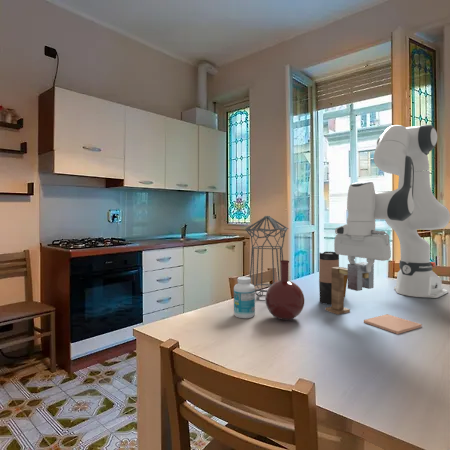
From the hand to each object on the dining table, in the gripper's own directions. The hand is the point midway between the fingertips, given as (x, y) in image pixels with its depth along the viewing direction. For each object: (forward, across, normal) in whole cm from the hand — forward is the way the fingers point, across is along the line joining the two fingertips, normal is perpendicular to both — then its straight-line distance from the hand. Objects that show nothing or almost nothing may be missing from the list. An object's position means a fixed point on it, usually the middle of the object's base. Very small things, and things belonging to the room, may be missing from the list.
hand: (360, 270), depth 113 cm
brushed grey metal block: (+6, 0, 0) cm, 6 cm away
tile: (+16, -9, -4) cm, 19 cm away
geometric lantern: (+17, +38, +11) cm, 43 cm away
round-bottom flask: (+17, +13, +22) cm, 31 cm away
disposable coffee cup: (+17, +25, -16) cm, 34 cm away
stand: (+16, +5, 0) cm, 17 cm away
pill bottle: (+17, +23, +32) cm, 43 cm away
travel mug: (+17, +20, -6) cm, 27 cm away
